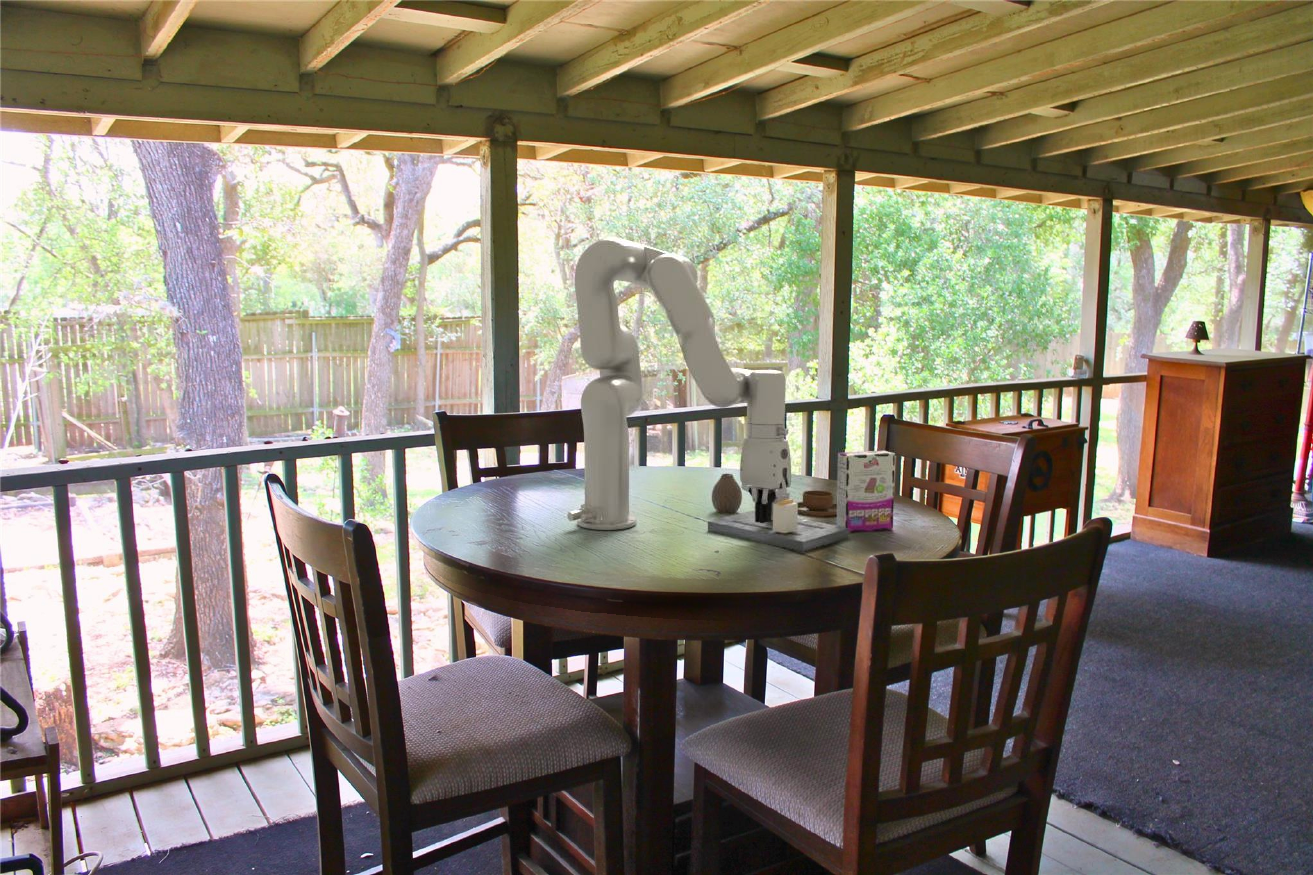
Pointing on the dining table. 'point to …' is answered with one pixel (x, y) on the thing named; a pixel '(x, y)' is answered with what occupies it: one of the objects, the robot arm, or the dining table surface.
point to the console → (800, 539)
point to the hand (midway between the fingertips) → (763, 521)
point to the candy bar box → (865, 490)
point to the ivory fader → (785, 516)
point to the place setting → (817, 503)
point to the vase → (726, 495)
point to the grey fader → (780, 500)
